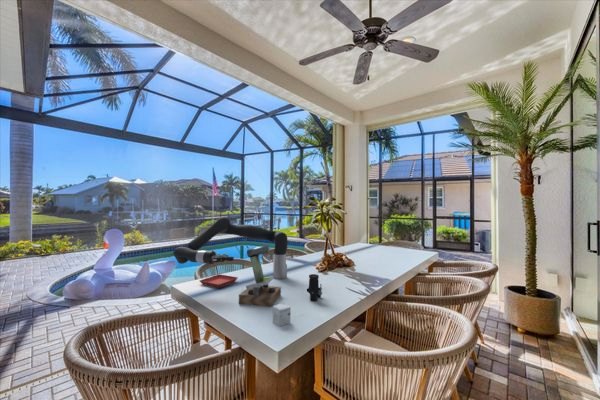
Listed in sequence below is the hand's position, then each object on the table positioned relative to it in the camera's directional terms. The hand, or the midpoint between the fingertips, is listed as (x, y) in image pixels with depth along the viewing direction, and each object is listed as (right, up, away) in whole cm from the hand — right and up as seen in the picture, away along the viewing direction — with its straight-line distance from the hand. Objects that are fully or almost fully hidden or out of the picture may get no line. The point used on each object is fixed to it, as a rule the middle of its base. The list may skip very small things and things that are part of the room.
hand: (233, 259), depth 151 cm
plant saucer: (-16, -23, +25) cm, 37 cm away
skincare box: (+30, -22, -32) cm, 49 cm away
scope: (+46, -22, -3) cm, 52 cm away
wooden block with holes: (+17, -22, -4) cm, 28 cm away
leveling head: (+18, -14, -4) cm, 24 cm away
